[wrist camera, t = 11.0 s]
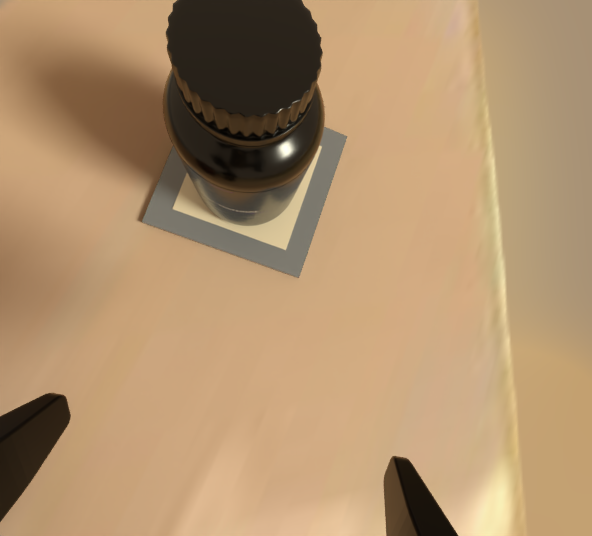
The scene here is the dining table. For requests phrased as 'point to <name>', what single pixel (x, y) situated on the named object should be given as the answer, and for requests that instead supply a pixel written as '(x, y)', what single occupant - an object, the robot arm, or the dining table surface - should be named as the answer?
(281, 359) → the dining table surface
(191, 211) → the foundation tile
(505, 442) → the dining table surface
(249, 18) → the supplement bottle
